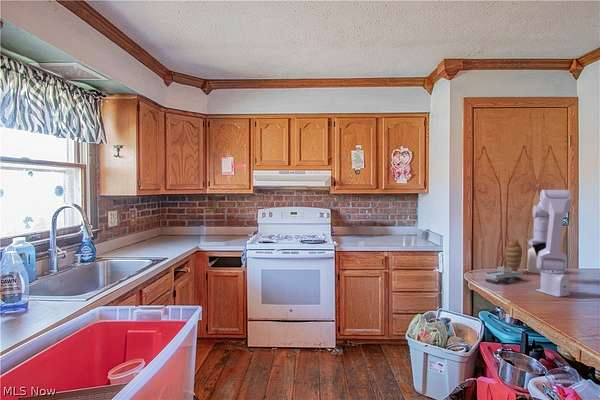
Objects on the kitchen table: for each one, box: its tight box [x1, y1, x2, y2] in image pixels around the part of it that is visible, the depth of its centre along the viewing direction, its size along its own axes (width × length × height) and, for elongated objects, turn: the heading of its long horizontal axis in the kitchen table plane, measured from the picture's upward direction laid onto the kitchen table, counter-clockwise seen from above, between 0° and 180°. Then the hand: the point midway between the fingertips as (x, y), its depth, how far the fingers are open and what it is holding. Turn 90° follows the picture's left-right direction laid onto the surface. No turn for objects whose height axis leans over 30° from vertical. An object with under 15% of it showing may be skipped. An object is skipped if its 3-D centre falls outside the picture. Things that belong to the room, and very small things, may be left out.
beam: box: [484, 269, 524, 280], centre depth 163 cm, size 6×18×2 cm, turn 112°
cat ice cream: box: [504, 237, 523, 272], centre depth 178 cm, size 9×8×18 cm
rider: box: [496, 265, 511, 274], centre depth 163 cm, size 3×5×4 cm
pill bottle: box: [526, 245, 541, 275], centre depth 180 cm, size 8×8×15 cm
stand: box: [485, 276, 523, 285], centre depth 163 cm, size 7×18×2 cm, turn 112°
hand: (540, 258), depth 164 cm, fingers closed
